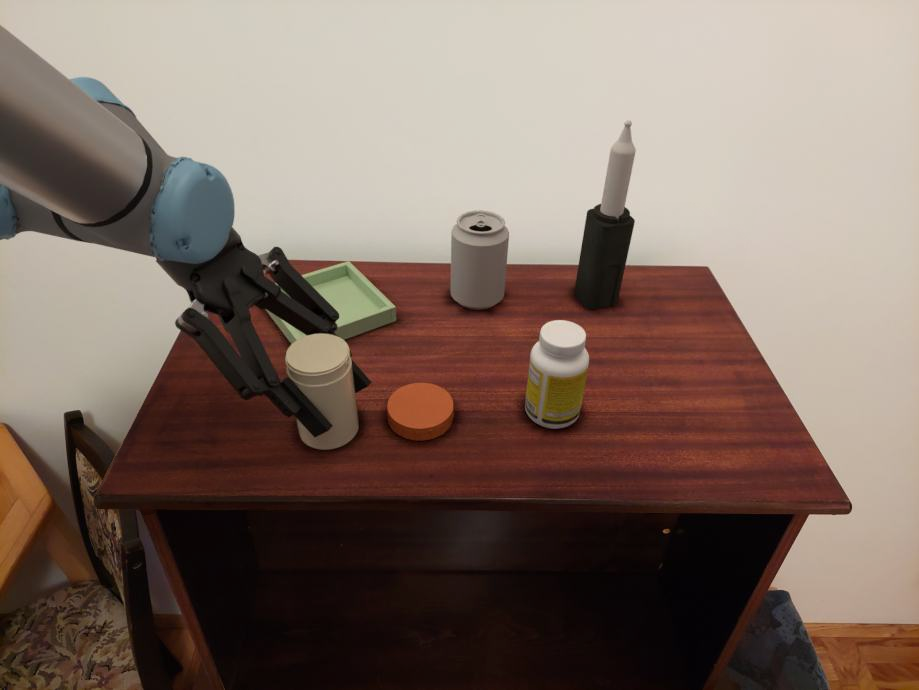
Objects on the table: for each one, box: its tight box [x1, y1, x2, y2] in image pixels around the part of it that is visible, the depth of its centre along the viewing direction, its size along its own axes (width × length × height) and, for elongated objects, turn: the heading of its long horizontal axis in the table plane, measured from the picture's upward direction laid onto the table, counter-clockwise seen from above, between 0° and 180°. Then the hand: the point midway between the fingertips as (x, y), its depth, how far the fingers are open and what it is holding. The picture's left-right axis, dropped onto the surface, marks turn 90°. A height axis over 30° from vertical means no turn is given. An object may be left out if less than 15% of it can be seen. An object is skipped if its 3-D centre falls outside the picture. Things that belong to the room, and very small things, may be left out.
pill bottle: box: [524, 319, 590, 430], centre depth 69 cm, size 6×6×11 cm
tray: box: [264, 260, 397, 345], centre depth 86 cm, size 14×14×2 cm
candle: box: [573, 119, 637, 311], centre depth 83 cm, size 5×5×25 cm
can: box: [449, 209, 510, 311], centre depth 86 cm, size 8×8×12 cm
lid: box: [386, 382, 455, 442], centre depth 71 cm, size 7×7×2 cm
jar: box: [284, 333, 360, 451], centre depth 66 cm, size 6×6×11 cm
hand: (343, 408), depth 66 cm, fingers closed on jar, 6 cm apart
